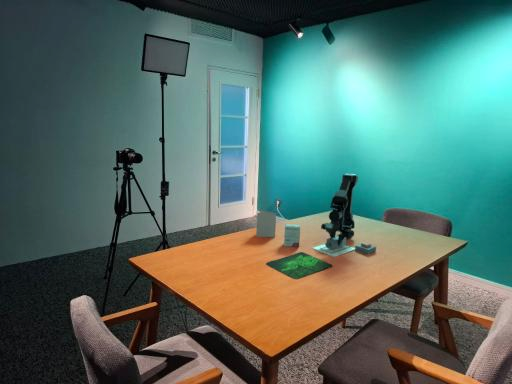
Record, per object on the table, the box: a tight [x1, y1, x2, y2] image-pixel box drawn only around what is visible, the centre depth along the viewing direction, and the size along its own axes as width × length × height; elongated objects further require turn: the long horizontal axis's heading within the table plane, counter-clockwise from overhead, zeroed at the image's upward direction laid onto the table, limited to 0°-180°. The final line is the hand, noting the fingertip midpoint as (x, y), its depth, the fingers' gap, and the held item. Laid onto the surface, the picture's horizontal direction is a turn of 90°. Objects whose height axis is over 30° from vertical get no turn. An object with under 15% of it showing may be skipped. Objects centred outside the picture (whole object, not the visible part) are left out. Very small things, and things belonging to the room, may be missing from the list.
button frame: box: [354, 243, 377, 256], centre depth 191 cm, size 8×8×3 cm
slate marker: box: [324, 235, 347, 250], centre depth 192 cm, size 14×4×5 cm, turn 130°
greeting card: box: [255, 210, 277, 238], centre depth 207 cm, size 11×7×15 cm, turn 58°
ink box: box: [283, 223, 301, 248], centre depth 195 cm, size 9×5×12 cm, turn 84°
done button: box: [360, 241, 372, 248], centre depth 190 cm, size 4×4×3 cm
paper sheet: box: [312, 243, 355, 258], centre depth 192 cm, size 20×15×1 cm
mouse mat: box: [265, 251, 333, 280], centre depth 169 cm, size 27×22×1 cm
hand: (335, 244), depth 193 cm, fingers closed on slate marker, 4 cm apart
